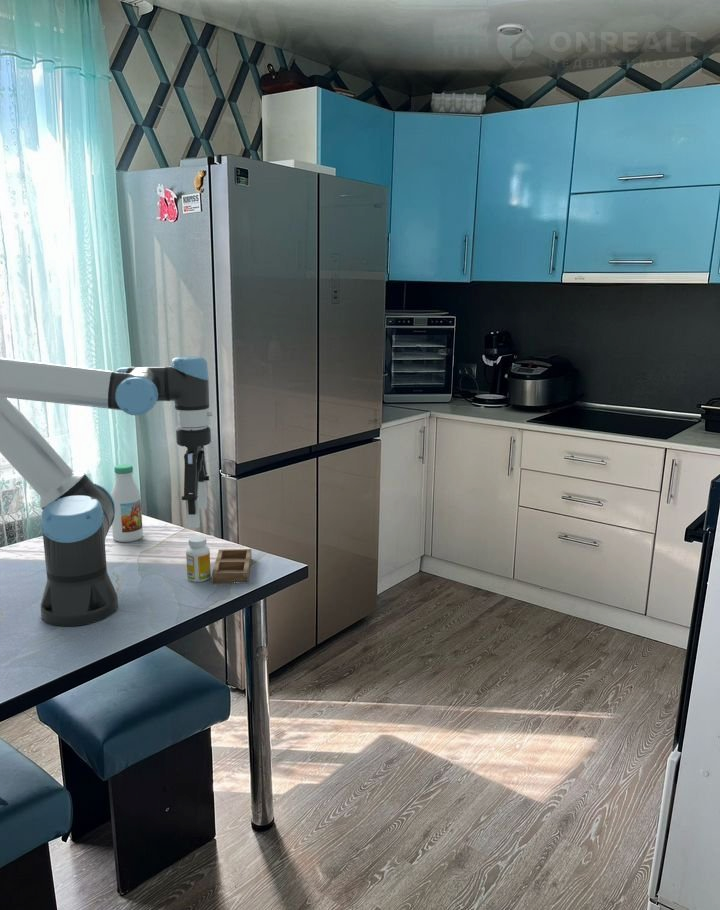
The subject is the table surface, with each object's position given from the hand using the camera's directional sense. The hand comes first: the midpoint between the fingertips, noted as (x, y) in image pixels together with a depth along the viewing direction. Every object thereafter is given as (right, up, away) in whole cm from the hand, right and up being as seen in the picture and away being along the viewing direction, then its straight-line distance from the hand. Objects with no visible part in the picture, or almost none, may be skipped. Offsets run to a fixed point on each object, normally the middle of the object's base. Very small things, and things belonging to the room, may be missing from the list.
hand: (197, 517), depth 166 cm
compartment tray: (+7, -13, +8) cm, 17 cm away
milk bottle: (-25, -8, +29) cm, 39 cm away
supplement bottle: (0, -15, +4) cm, 15 cm away
